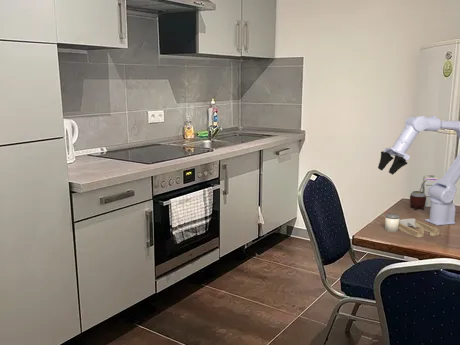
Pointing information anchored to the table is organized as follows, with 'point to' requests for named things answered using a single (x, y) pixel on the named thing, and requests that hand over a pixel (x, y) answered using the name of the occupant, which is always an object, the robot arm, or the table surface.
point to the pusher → (408, 222)
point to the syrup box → (427, 185)
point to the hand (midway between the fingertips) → (385, 171)
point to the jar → (392, 222)
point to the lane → (419, 232)
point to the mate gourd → (418, 199)
